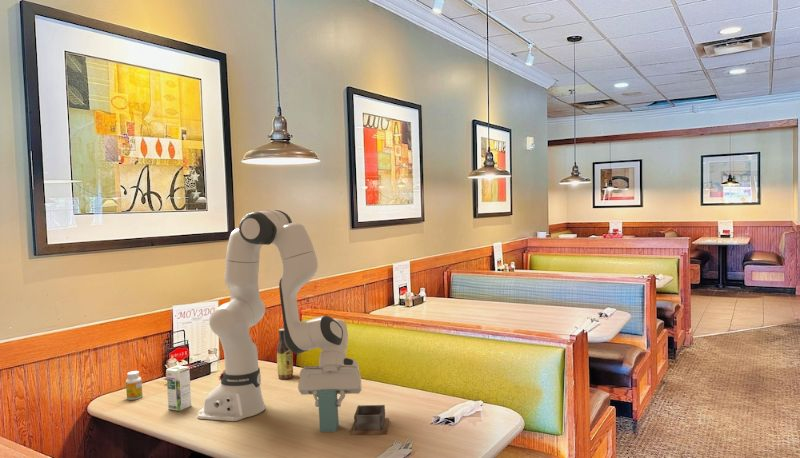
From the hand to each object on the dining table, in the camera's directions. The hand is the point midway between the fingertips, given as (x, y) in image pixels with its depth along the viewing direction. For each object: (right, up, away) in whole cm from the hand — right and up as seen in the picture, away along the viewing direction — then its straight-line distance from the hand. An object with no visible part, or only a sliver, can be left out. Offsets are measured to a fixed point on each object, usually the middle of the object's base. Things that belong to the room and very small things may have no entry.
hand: (327, 406), depth 171 cm
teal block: (0, -7, +1) cm, 7 cm away
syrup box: (-56, -9, +25) cm, 62 cm away
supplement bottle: (-78, -9, +37) cm, 87 cm away
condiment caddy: (+13, -7, 0) cm, 15 cm away
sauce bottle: (-24, -6, +54) cm, 59 cm away
